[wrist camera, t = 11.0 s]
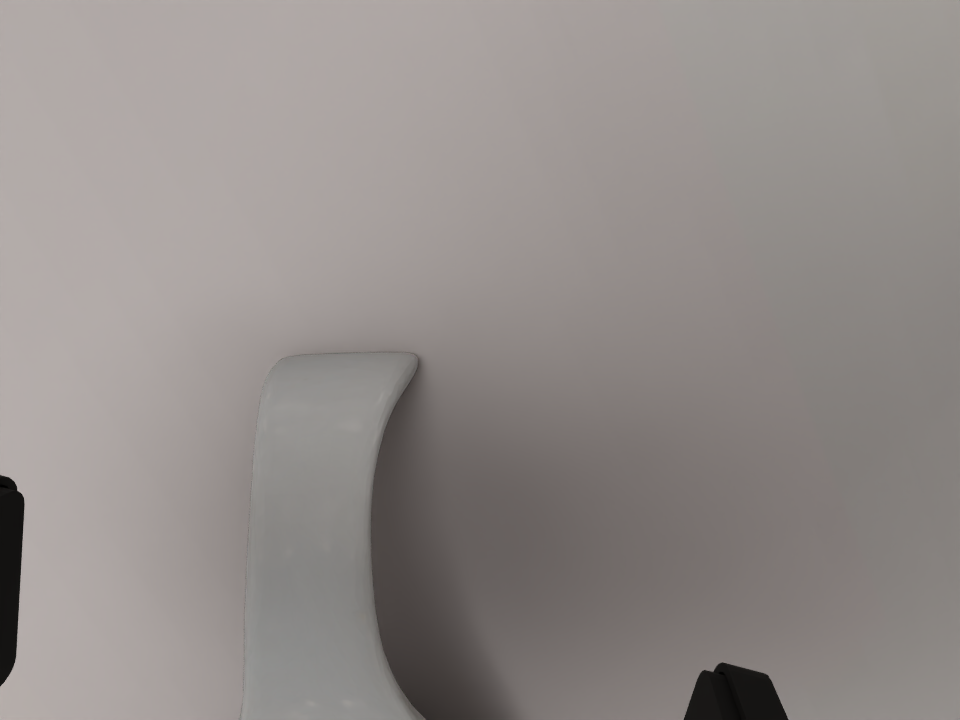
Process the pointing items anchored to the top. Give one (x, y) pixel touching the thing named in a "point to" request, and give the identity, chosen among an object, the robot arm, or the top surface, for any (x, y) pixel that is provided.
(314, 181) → the top surface
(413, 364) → the spoon rest
